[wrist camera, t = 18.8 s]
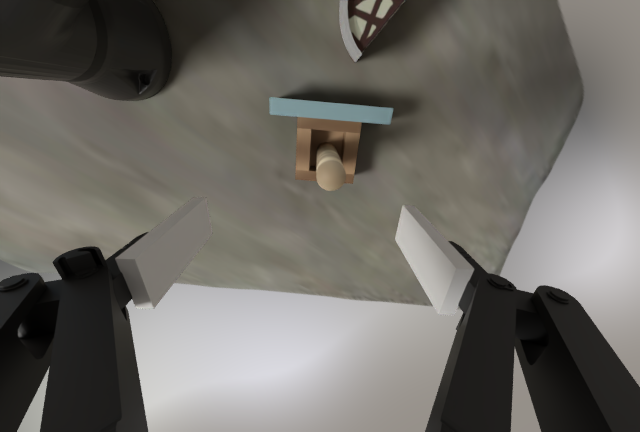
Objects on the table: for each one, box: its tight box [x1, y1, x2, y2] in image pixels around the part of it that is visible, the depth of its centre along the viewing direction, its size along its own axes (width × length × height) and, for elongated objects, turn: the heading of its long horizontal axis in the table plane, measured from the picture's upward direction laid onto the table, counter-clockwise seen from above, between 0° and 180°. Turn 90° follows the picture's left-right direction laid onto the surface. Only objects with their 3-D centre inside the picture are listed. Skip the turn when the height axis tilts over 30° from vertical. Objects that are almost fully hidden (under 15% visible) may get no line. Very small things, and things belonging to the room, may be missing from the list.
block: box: [295, 117, 362, 184], centre depth 36 cm, size 9×9×4 cm
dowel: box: [316, 142, 346, 191], centre depth 31 cm, size 3×3×14 cm
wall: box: [269, 97, 393, 125], centre depth 33 cm, size 2×16×6 cm, turn 85°
